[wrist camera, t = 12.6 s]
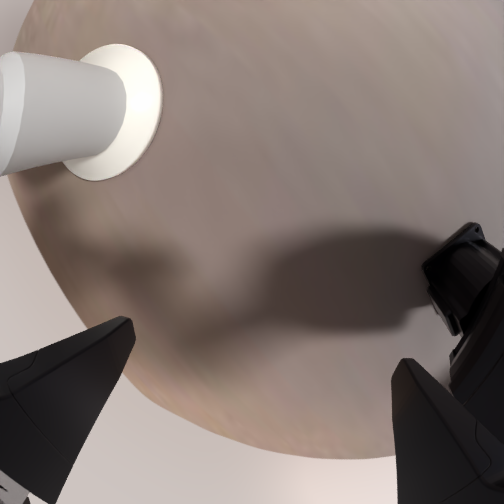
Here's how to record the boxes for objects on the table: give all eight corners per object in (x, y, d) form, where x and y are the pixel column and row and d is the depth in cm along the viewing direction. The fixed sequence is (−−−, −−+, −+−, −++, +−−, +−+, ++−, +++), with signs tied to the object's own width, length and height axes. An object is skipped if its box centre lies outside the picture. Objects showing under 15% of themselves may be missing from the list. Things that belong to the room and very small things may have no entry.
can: (57, 124, 18) (-52, 141, 7) (99, 55, 16) (-16, 34, 5) (99, 173, 20) (-24, 214, 9) (150, 98, 17) (14, 82, 6)
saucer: (114, 25, 15) (107, 22, 14) (193, 101, 17) (188, 99, 17) (45, 124, 20) (38, 124, 19) (103, 206, 22) (96, 209, 21)
